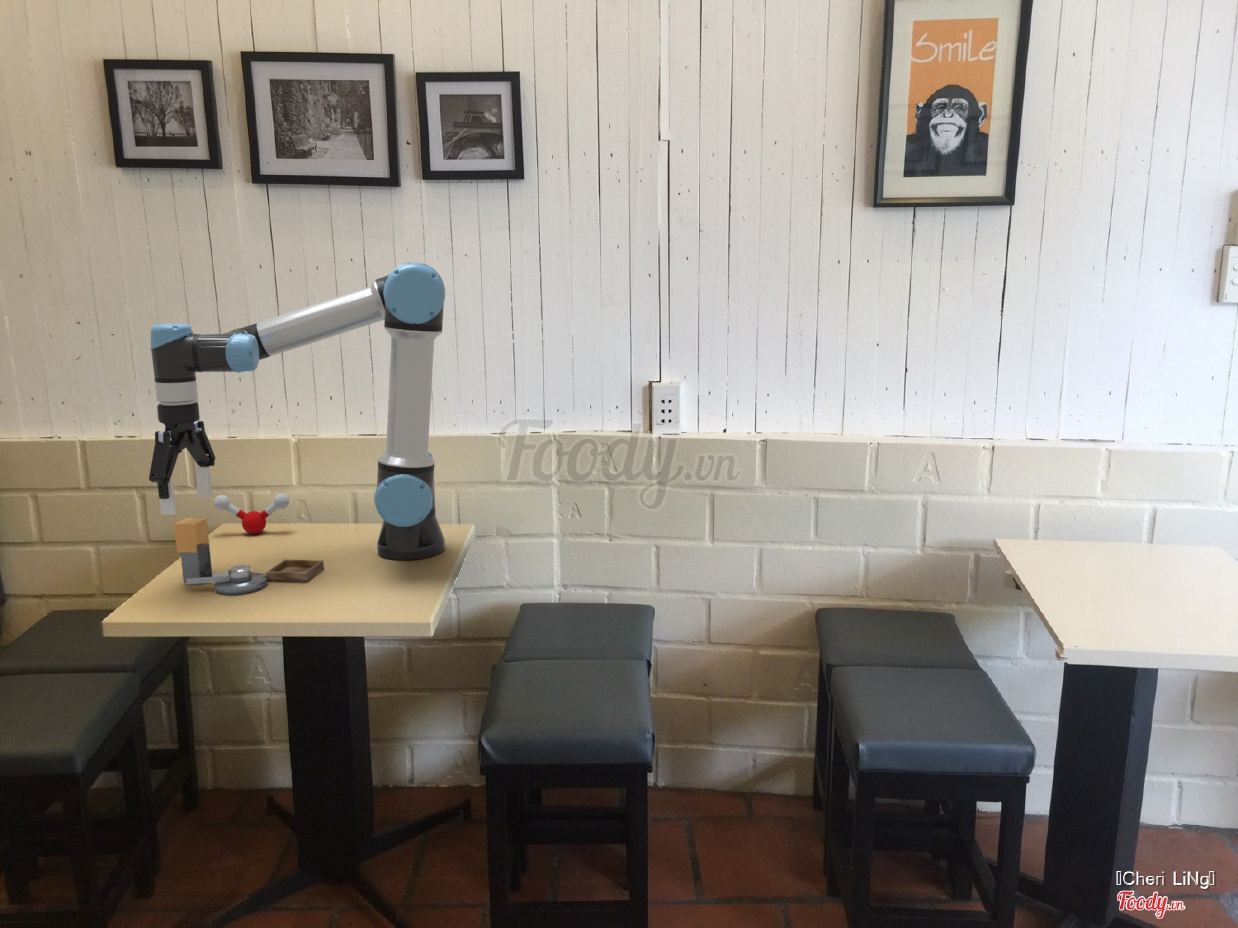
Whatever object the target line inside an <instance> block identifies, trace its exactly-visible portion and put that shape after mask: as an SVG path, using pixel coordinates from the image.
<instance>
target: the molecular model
mask: <svg viewBox="0 0 1238 928" xmlns="http://www.w3.org/2000/svg"><path fill="white" fill-rule="evenodd" d="M289 505H290V498H289V496H288V495H287V494H285V493H277V494H276V495H275V496H274V498H273V503H271V504H269V506H267V507H266V508H264V509H263V510H262V511H261V512H260V511H256V510H251V511H248V512H245V511H244V510H242V509H240V508H239V507H238V506H235V505H234V504H233V503H231V500H230V498H229V497H228V496H227V495H224V494H221V495H217V496H216V497H214V500H213V506H214V507H215V509H216V510H218V511H225V510H226V511H228V512H229V513H230V514H232V515H234V516H236V517H237V518H239V519H240V520H241V526H242V528H243V530H244V531H245V532H246V533H248V534H250V535H251V534H252V535H257V534H260V533H261V532H263V531H264V529H265V528H266V525H267V518H268V517H269V516H270V515H272V514H273V513H275V512H276V511H277V510H280V509H281V510H282V509H286V508H287V507H288V506H289Z"/></svg>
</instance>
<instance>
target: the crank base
mask: <svg viewBox="0 0 1238 928" xmlns="http://www.w3.org/2000/svg"><path fill="white" fill-rule="evenodd" d="M211 584H213V585H214V592H215V593H216V594H218V595H222V596H242V595H249V594H253V593H257V592H259V591H262V590H264V589H265V588H266V587H267V586H268V581H267V576H266V573H263V572H256V571H252V580H251V581H249V582H245V583H238V584H234V583H230V582H229V581H226V582H212V583H211Z"/></svg>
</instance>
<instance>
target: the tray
mask: <svg viewBox="0 0 1238 928" xmlns="http://www.w3.org/2000/svg"><path fill="white" fill-rule="evenodd" d="M324 563H325V561H324V560H321V559H289V558H288V559H287V558H285V559H283V560H281V561H280V562H278V563H277V564H276V565H274V566H273V567H272V568H270V569H268V570H267V571H266V572H265V575H266V576H267V583H268V582H270V583H271V582H272V583H273V582H274V583H276V582H277V583H302V584H303V583H304V584H305V583H306V584H307V583H309V582H311V580H313V579H314V578H315V577H316V576H318V575H319V574H320V573H321V572H322V571H324V570H325V564H324Z"/></svg>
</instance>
